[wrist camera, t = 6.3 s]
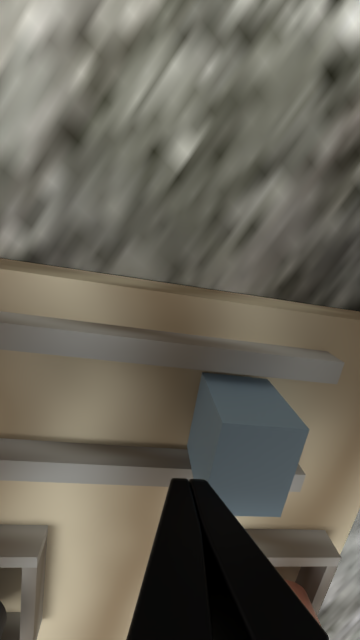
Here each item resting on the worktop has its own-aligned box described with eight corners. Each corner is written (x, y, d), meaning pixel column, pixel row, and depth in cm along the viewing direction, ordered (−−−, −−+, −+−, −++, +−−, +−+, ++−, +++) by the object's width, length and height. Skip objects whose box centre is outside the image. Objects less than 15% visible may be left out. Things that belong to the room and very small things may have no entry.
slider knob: (187, 445, 11) (200, 515, 8) (202, 372, 10) (222, 422, 7) (248, 449, 11) (280, 517, 9) (267, 379, 11) (309, 429, 8)
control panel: (-92, 597, 14) (-155, 695, 11) (-132, 238, 10) (-255, 242, 7) (288, 590, 18) (319, 666, 14) (391, 316, 13) (467, 342, 10)
